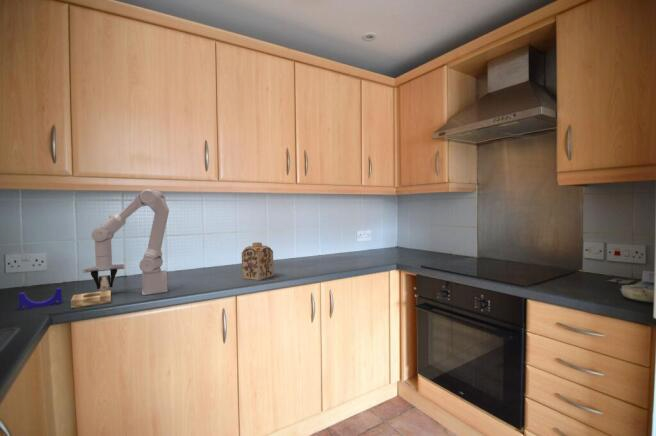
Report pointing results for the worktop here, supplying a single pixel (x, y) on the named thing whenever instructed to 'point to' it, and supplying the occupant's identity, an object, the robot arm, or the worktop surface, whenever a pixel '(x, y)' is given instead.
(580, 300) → the worktop surface
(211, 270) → the worktop surface
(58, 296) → the blue curved cradle
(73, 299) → the pocket block
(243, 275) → the decorative jar
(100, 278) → the pin
